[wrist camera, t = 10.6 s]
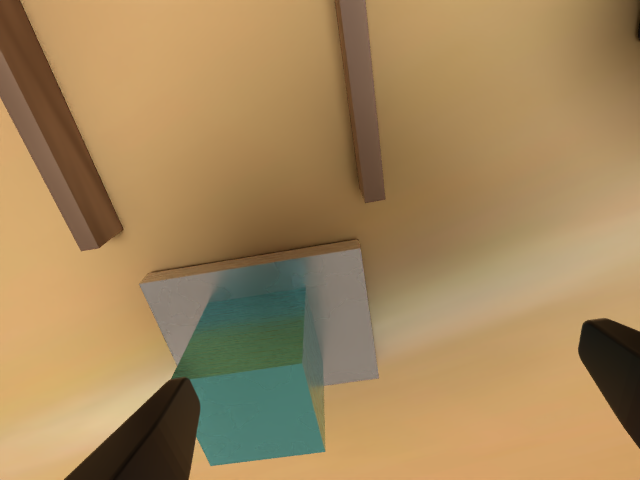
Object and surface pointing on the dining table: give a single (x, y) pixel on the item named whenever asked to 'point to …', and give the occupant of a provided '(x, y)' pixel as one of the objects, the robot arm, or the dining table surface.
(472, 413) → the dining table surface
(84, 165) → the walnut channel
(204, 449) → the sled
